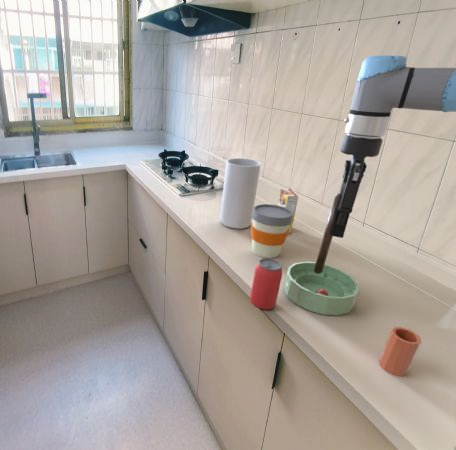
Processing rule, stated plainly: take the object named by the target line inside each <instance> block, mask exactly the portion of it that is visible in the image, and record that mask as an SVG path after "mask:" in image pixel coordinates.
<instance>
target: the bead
mask: <svg viewBox="0 0 456 450" xmlns="http://www.w3.org/2000/svg"><path fill="white" fill-rule="evenodd" d="M316 293H318V294H322V295H326V296H329V294H328V292H327V291H326V290H324V289H318V290H317V291H316Z"/></svg>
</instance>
